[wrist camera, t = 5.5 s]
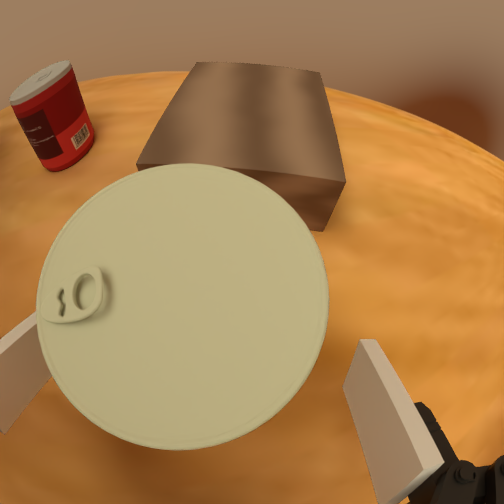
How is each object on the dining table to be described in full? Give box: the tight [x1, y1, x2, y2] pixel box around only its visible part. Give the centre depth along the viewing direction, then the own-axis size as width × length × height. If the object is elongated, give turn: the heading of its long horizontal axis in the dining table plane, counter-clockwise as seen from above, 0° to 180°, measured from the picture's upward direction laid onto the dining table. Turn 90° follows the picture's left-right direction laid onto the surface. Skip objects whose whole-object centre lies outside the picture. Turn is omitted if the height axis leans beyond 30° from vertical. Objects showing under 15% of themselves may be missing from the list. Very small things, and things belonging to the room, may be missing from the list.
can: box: [36, 163, 329, 450], centre depth 12 cm, size 9×9×12 cm
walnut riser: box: [136, 62, 346, 231], centre depth 24 cm, size 14×18×6 cm
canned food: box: [9, 61, 94, 171], centre depth 21 cm, size 8×8×11 cm
